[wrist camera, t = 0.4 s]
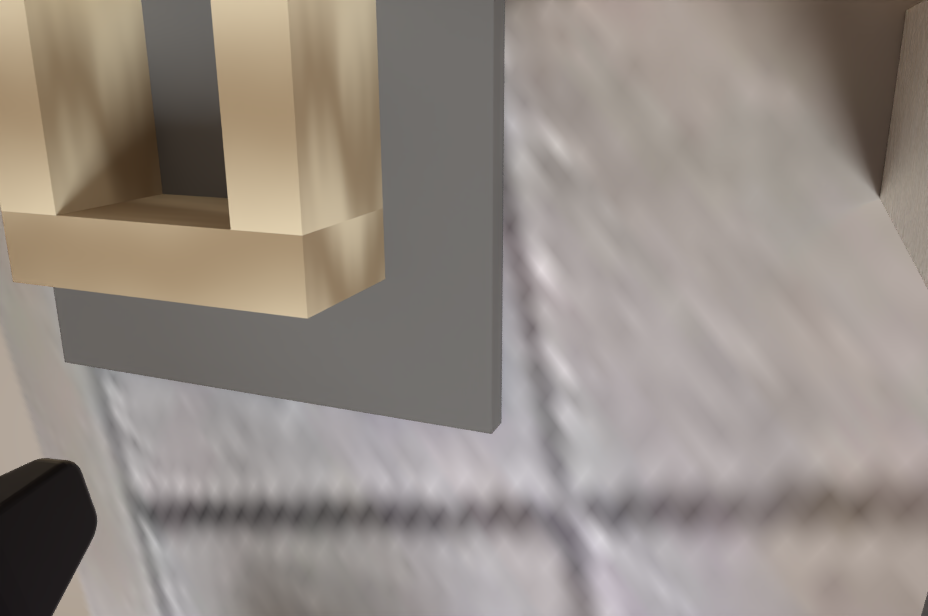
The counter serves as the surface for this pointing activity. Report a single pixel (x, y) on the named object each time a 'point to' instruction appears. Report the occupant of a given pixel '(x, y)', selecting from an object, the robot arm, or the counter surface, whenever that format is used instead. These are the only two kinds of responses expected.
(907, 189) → the steel bar
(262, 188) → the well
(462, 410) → the mat
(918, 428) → the counter surface
